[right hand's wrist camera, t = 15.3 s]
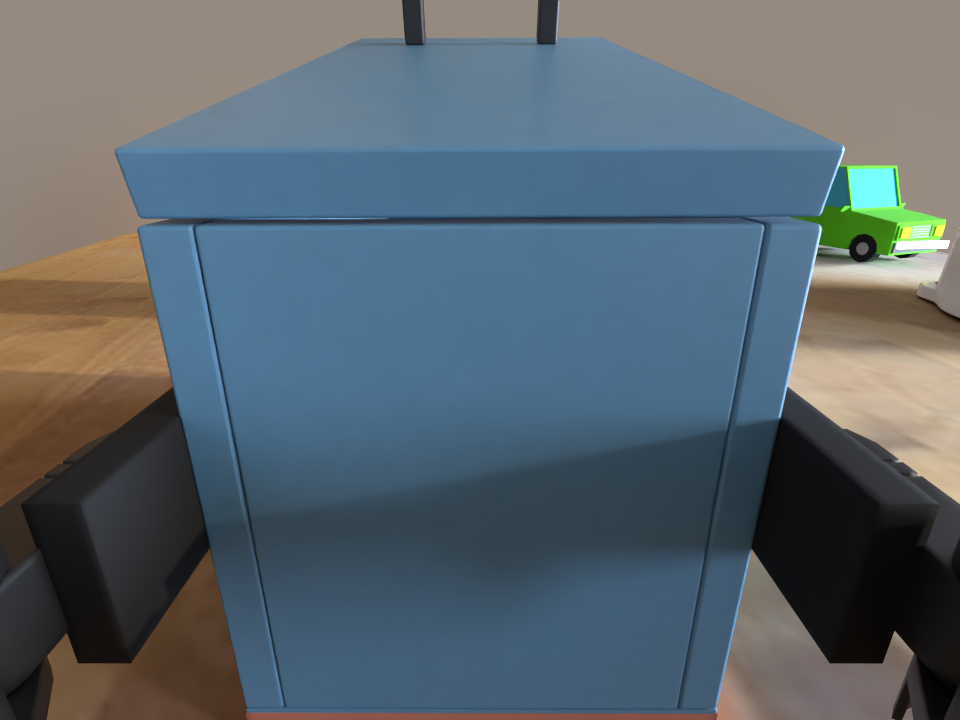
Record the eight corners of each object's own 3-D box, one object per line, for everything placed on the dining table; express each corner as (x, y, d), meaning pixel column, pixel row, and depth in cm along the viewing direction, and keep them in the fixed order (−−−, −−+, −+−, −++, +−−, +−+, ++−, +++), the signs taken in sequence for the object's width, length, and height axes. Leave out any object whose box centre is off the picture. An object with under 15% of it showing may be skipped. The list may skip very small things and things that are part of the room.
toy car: (881, 268, 57) (908, 168, 54) (776, 248, 69) (793, 165, 65) (944, 262, 61) (973, 167, 57) (834, 244, 72) (853, 164, 69)
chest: (386, 393, 28) (370, 174, 24) (578, 393, 28) (593, 173, 24) (250, 736, 12) (132, 225, 8) (712, 737, 12) (827, 223, 8)
